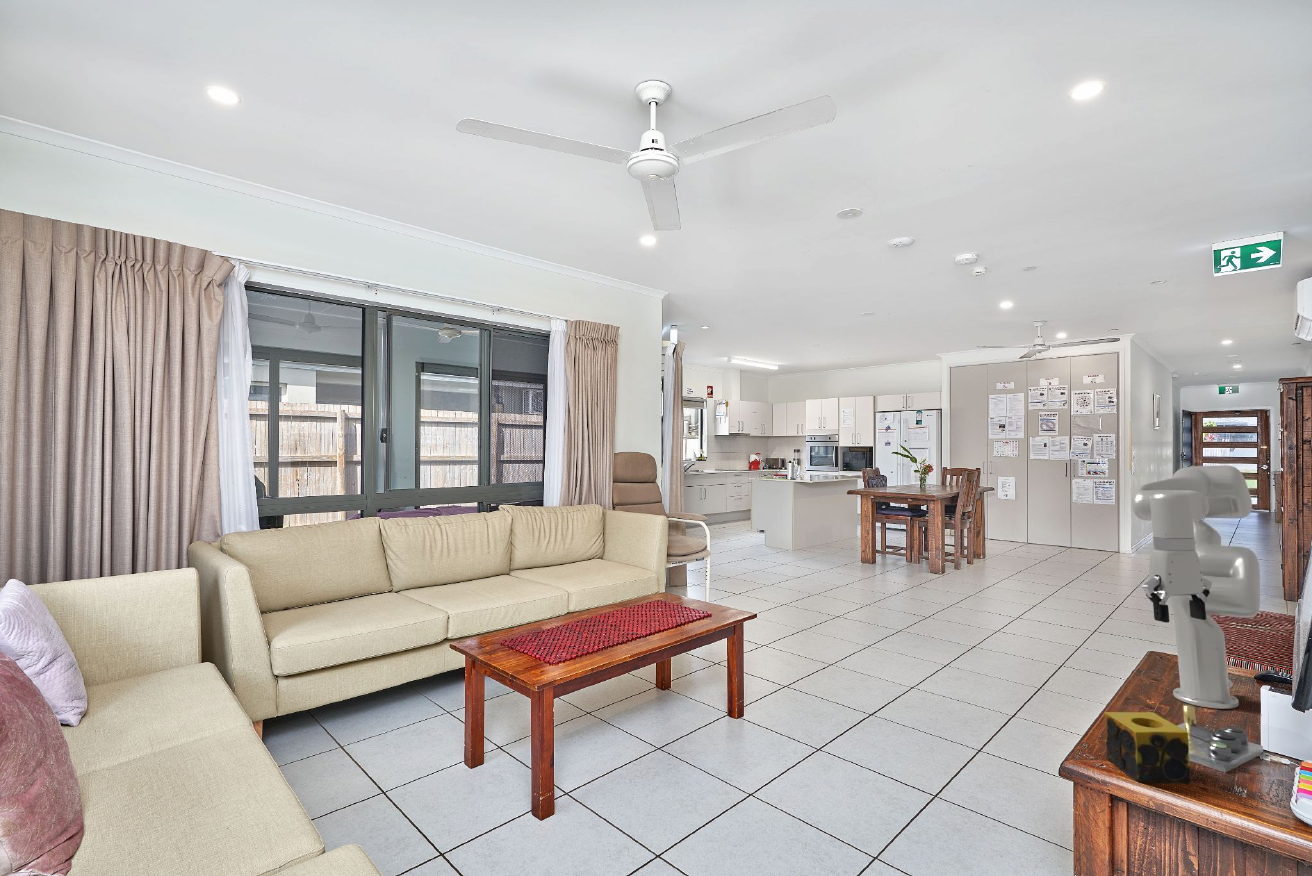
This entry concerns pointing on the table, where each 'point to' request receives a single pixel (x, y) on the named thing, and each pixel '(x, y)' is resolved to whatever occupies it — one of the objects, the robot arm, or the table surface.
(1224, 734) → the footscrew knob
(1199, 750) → the plate
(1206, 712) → the table surface
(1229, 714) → the table surface
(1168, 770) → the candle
